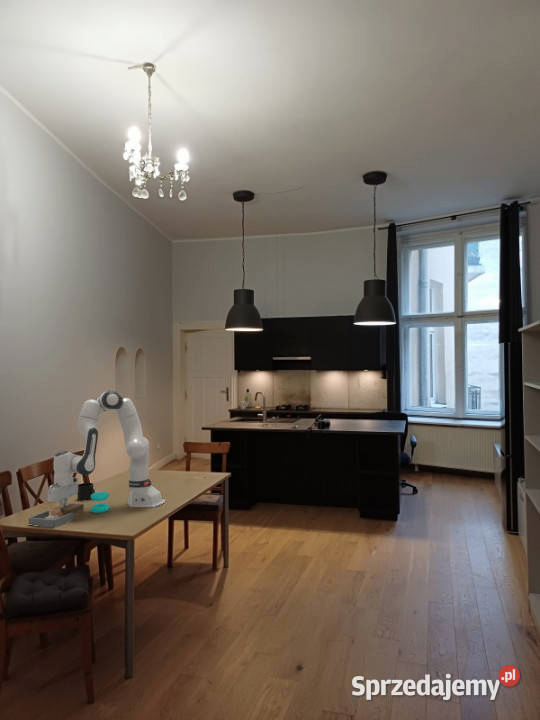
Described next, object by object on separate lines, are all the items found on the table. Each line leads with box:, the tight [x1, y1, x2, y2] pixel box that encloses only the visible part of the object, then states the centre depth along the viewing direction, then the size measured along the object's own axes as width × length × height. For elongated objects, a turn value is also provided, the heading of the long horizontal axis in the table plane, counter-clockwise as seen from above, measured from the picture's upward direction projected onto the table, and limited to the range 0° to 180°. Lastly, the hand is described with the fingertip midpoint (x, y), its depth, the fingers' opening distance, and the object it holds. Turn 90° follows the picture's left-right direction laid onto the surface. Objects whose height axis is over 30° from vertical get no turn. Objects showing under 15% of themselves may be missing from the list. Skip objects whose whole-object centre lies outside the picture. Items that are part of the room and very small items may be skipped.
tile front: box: [45, 514, 59, 520], centre depth 278 cm, size 5×5×2 cm
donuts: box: [90, 491, 110, 514], centre depth 297 cm, size 10×10×10 cm
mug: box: [76, 482, 96, 501], centre depth 324 cm, size 9×12×9 cm
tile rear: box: [49, 507, 64, 517], centre depth 281 cm, size 5×5×2 cm
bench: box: [54, 502, 85, 518], centre depth 289 cm, size 11×12×5 cm
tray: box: [28, 510, 74, 529], centre depth 277 cm, size 17×14×4 cm
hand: (63, 506), depth 285 cm, fingers closed
